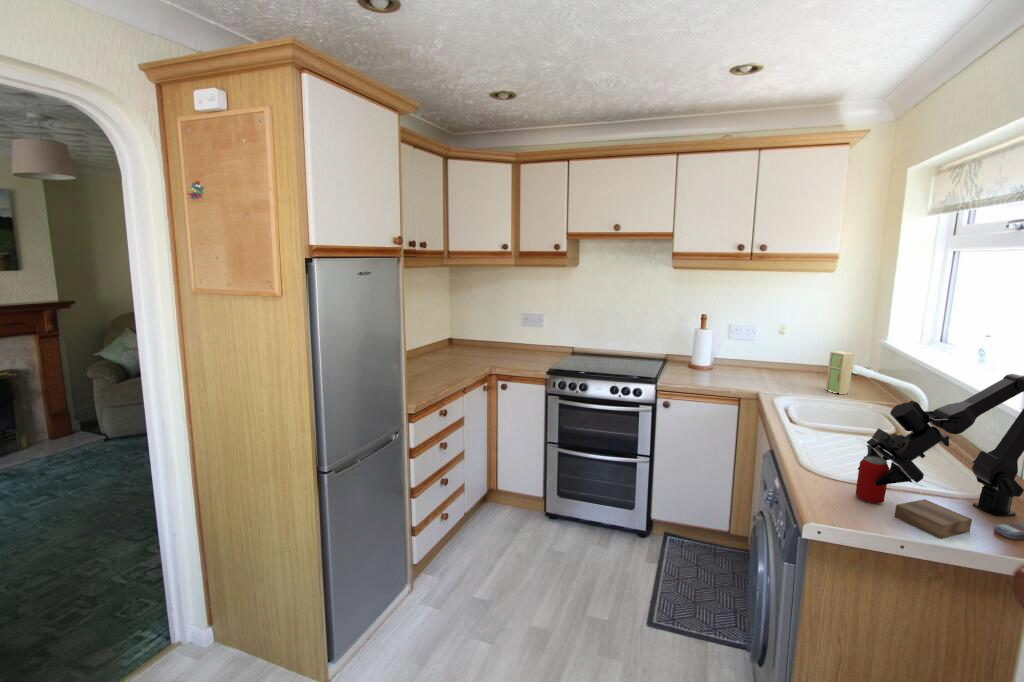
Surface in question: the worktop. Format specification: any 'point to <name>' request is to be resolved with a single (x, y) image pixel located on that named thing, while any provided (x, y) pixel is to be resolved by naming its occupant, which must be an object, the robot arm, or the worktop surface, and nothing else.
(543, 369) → the worktop surface
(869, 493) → the beverage can
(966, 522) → the walnut block
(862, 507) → the worktop surface
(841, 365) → the toy refrigerator
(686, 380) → the worktop surface
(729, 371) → the worktop surface
